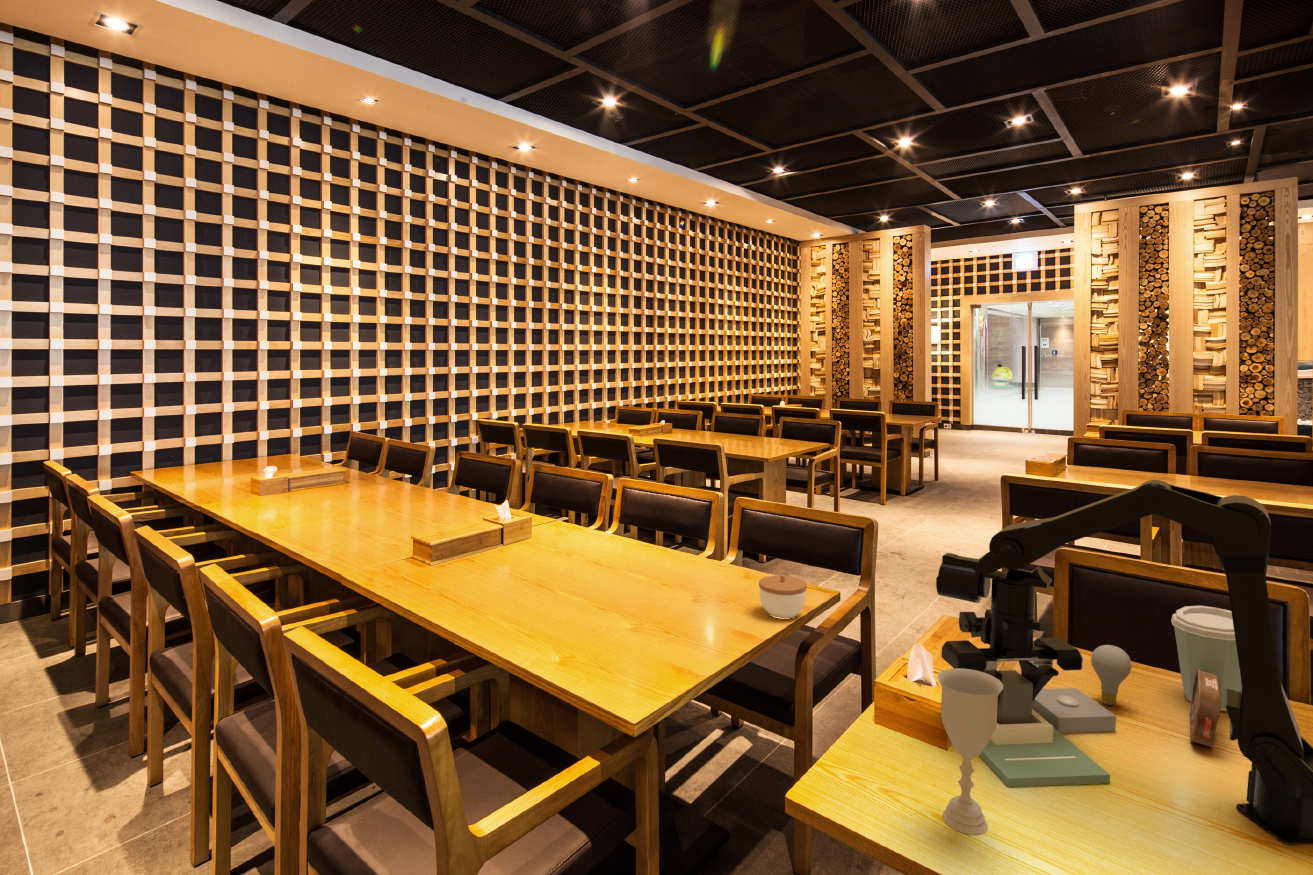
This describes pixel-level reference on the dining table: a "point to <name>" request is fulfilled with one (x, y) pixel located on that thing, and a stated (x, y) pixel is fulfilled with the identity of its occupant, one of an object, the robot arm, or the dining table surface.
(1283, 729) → the robot arm
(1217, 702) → the tin
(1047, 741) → the board
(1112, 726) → the grey domed button plate
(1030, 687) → the plug
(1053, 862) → the dining table surface
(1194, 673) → the disposable coffee cup
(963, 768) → the chalice
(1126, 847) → the dining table surface
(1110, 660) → the light bulb
